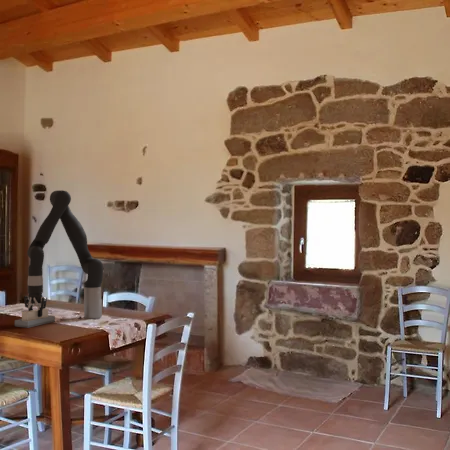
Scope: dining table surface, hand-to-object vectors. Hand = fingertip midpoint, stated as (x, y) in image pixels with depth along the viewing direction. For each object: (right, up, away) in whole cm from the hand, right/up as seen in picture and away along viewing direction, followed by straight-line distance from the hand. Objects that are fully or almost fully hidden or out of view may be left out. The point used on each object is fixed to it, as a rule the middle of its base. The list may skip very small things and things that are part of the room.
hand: (35, 316), depth 278 cm
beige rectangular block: (0, -3, 0) cm, 3 cm away
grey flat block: (0, -4, 0) cm, 4 cm away
